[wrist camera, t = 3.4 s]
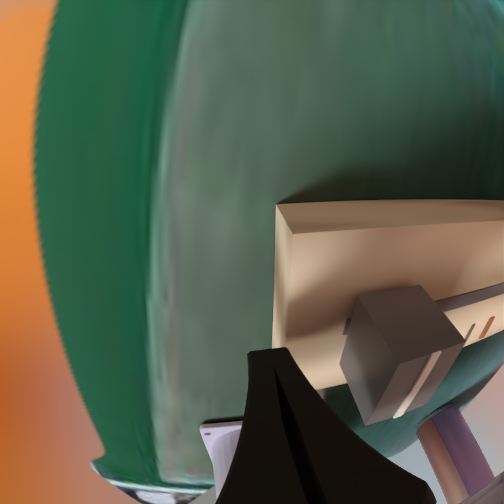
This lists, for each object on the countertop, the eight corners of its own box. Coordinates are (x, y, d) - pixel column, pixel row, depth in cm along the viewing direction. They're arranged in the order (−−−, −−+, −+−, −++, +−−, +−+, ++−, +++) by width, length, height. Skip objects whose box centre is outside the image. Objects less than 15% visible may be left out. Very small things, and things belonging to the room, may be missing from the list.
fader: (394, 350, 13) (425, 406, 10) (339, 364, 13) (365, 427, 10) (420, 284, 11) (467, 342, 8) (356, 294, 11) (400, 365, 8)
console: (504, 302, 18) (521, 321, 16) (271, 359, 16) (280, 397, 14) (541, 202, 14) (565, 218, 12) (275, 204, 12) (293, 235, 9)
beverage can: (450, 398, 26) (502, 498, 13) (458, 405, 29) (503, 492, 16) (408, 427, 28) (451, 528, 15) (421, 432, 30) (460, 519, 17)
